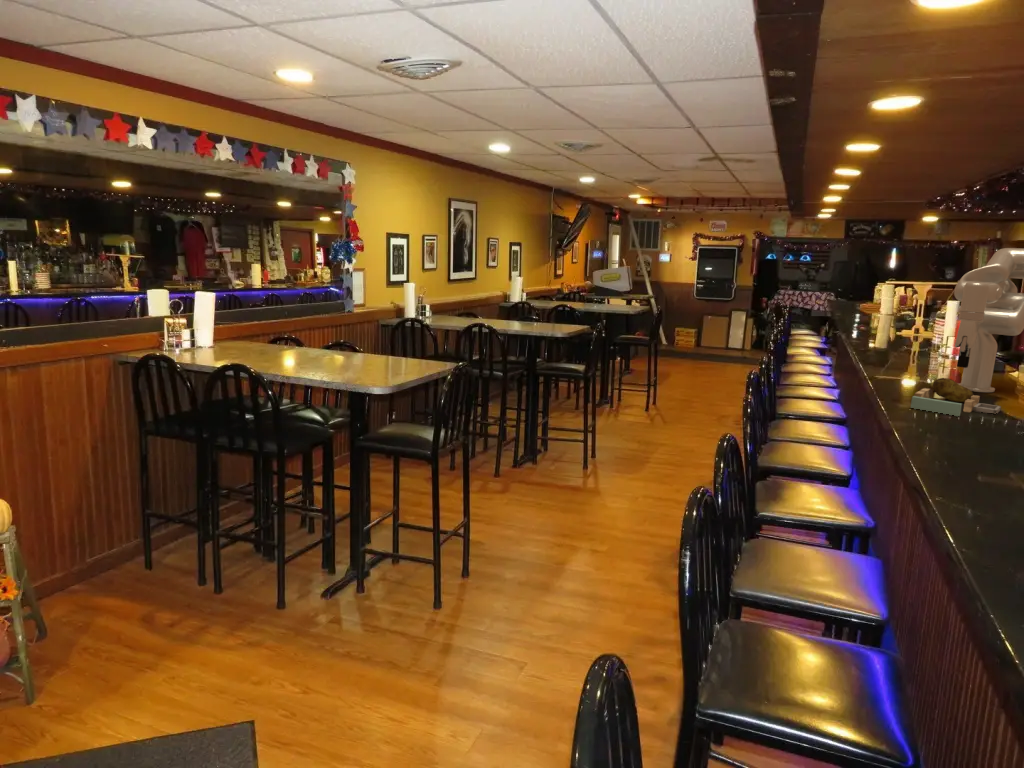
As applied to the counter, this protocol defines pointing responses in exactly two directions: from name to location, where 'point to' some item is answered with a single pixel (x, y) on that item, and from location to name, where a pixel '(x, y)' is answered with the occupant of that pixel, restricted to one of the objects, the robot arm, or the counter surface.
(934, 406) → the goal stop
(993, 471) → the counter surface
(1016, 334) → the robot arm
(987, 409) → the grey tray
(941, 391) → the potato
